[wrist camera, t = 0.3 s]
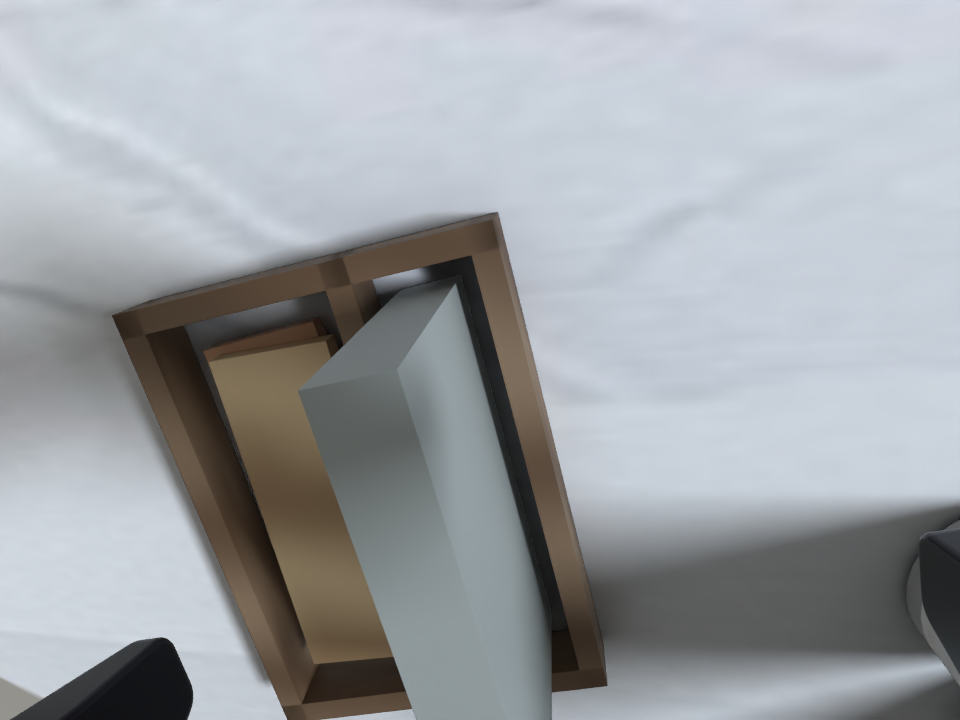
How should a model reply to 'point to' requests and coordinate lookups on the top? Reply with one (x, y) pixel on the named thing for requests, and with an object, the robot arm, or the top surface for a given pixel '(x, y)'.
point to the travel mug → (921, 619)
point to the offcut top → (299, 496)
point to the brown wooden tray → (230, 504)
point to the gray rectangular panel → (436, 508)
